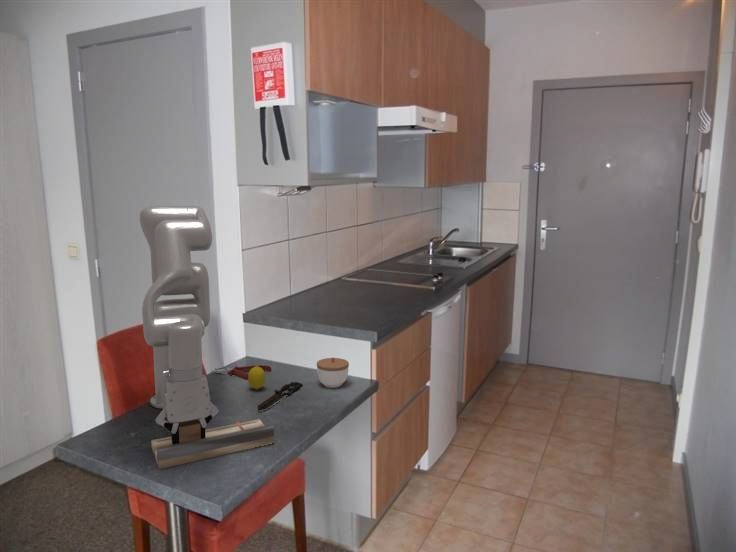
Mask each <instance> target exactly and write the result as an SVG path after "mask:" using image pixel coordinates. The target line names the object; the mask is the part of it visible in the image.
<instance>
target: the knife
mask: <svg viewBox="0 0 736 552" xmlns="http://www.w3.org/2000/svg"><path fill="white" fill-rule="evenodd" d="M289 387H290V388H289ZM300 387H301V388H302V387H304V384H303V383H301V382H297V381H295V382H294V381H292V382H289V383H287V384H284V385H283V386H281V388H280V390H278V389H274V390H273V391H274V394H273V395H272V396H271V397H269V398H267V399H266V400H264V401H263V402H261V403H259V404H258V405H257V410H258V411H262V410H266V411H268V410H269V409H268V408H270V407H271V406H272V407H274V406H275V405H277V404H278V403H280V402H281V401H282V400H284V399H285V398H287V397H289V396H290V395H293V394H294V393H296V392H298V391H299V390H300ZM285 389H286V391H287V390H288V391H287V392H283V391H284V390H285ZM293 392H294V393H293ZM281 394H282V395H281ZM286 396H287V397H286ZM279 401H280V402H279ZM276 403H277V404H276ZM265 405H266V406H265ZM273 405H274V406H273ZM262 407H263V408H262ZM272 407H271V408H272ZM271 408H270V409H271ZM259 409H260V410H259ZM267 409H268V410H267ZM262 412H263V411H262Z"/></svg>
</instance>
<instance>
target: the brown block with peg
mask: <svg viewBox="0 0 736 552" xmlns="http://www.w3.org/2000/svg"><path fill="white" fill-rule="evenodd" d="M177 430H178V433H179V443H183V442H188V441H193V440H198V439H201V427H200V422H199V420H198V419H197V420H191V421H186V422H180V423H179V424H178V428H177Z"/></svg>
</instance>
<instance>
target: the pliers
mask: <svg viewBox="0 0 736 552" xmlns="http://www.w3.org/2000/svg"><path fill="white" fill-rule="evenodd" d="M255 366H258V367H260V368H262V369H263V370H264V372H267V373H269V372H272V367H271V366H270V365H262V364H260V365H247V366H238V365H236V366H235V367H233V368H232V367H219V368H214V370H211V373H215V372H216V371H217V372H216V374H220V373H221V374H222V375H229V377H233V376H232V375H235V377H237V376H238V377H237V378H240V379H244V380H247V381H248V374H249V371H250V370H251V369H252V368H254V367H255ZM228 373H229V374H228Z"/></svg>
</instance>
